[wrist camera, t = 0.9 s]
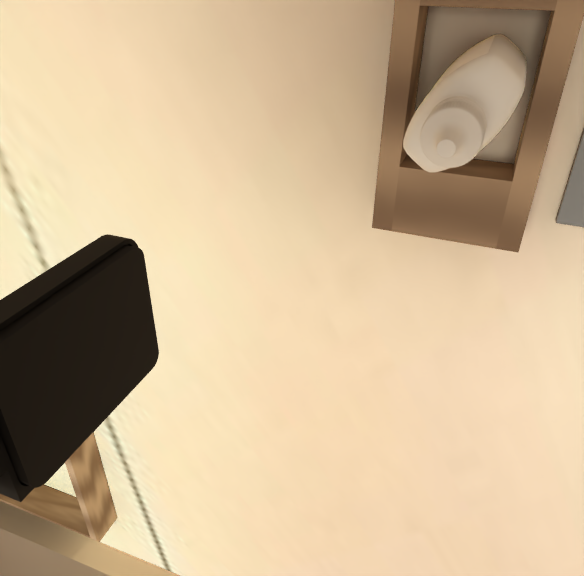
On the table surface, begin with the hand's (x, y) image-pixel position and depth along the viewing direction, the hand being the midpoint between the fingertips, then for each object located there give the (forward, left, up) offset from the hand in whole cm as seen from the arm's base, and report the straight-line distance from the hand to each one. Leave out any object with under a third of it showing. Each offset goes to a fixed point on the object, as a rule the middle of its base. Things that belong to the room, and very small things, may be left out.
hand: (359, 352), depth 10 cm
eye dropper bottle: (0, 0, -24) cm, 24 cm away
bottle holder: (0, 0, -24) cm, 24 cm away
